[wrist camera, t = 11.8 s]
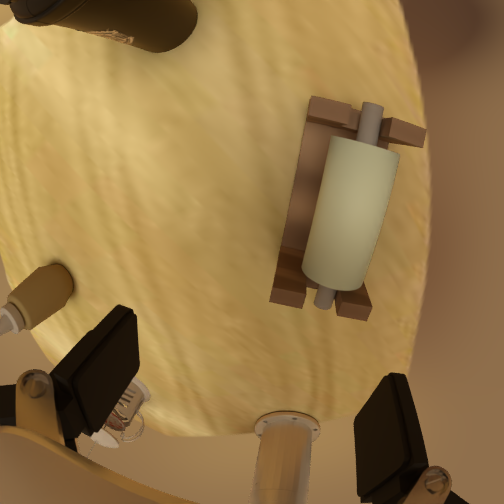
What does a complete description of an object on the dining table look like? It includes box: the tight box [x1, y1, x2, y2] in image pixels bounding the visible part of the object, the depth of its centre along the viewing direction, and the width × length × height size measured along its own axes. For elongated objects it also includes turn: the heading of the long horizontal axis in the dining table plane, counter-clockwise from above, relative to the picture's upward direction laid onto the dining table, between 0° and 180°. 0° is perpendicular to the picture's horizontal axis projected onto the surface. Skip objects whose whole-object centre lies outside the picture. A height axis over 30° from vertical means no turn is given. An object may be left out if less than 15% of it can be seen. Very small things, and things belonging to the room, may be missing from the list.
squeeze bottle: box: [0, 264, 73, 336], centre depth 36 cm, size 8×8×18 cm
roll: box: [301, 102, 400, 310], centre depth 24 cm, size 19×6×6 cm
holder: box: [269, 96, 426, 321], centre depth 26 cm, size 19×9×11 cm, turn 170°
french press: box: [86, 377, 150, 458], centre depth 41 cm, size 10×12×25 cm
